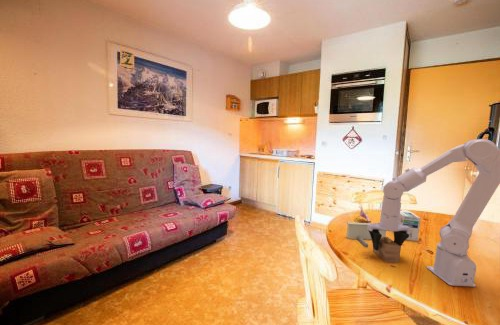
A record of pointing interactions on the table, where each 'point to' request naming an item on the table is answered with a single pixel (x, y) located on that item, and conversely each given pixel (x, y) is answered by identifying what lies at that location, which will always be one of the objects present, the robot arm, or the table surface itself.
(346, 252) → the table surface
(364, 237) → the wall board
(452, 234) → the robot arm
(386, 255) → the cabinet block
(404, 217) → the light bulb box
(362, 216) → the lily
